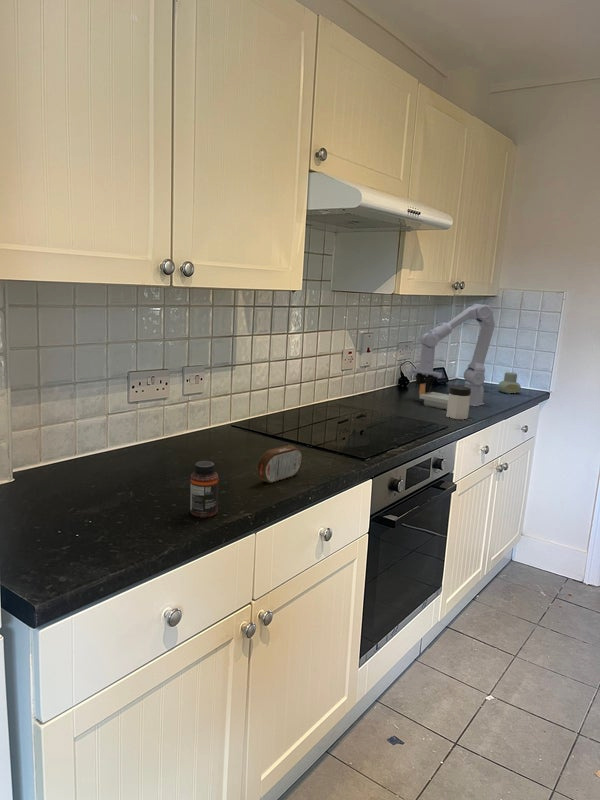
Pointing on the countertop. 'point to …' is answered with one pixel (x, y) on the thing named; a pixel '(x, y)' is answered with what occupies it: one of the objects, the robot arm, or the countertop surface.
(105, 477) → the countertop surface
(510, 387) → the air freshener
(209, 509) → the supplement bottle
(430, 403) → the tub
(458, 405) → the jar
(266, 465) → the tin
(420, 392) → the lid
